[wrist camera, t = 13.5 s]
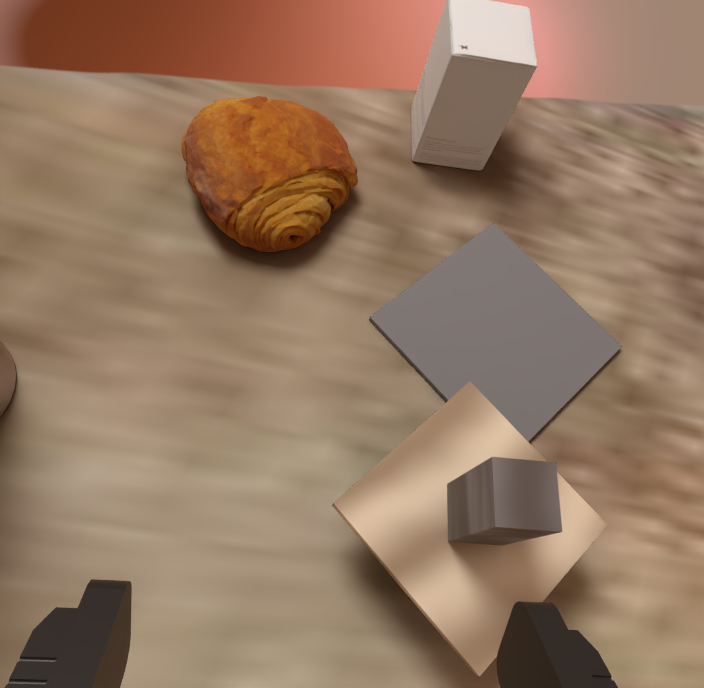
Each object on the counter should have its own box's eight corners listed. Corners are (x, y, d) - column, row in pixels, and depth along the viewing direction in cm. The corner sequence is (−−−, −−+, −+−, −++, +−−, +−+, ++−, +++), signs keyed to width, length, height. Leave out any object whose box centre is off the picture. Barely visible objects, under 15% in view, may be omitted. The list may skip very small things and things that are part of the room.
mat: (369, 319, 50) (370, 317, 49) (491, 226, 56) (493, 223, 55) (504, 464, 46) (507, 462, 46) (619, 348, 52) (622, 346, 52)
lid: (331, 505, 38) (353, 479, 30) (466, 384, 43) (515, 334, 35) (474, 675, 35) (540, 696, 27) (600, 526, 40) (687, 507, 32)
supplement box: (483, 173, 58) (539, 68, 47) (410, 162, 57) (449, 53, 46) (479, 116, 61) (532, 5, 50) (410, 106, 60) (447, -11, 49)
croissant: (217, 283, 51) (213, 244, 44) (169, 130, 54) (157, 69, 47) (369, 244, 55) (390, 202, 47) (316, 103, 58) (327, 42, 50)
